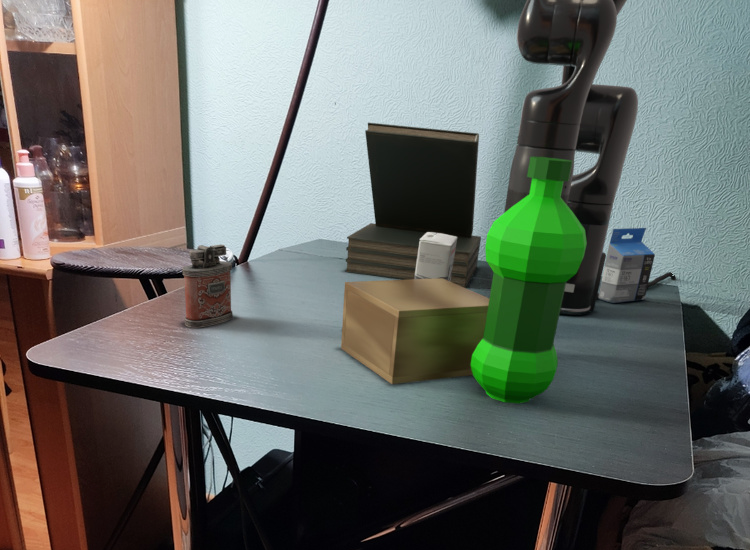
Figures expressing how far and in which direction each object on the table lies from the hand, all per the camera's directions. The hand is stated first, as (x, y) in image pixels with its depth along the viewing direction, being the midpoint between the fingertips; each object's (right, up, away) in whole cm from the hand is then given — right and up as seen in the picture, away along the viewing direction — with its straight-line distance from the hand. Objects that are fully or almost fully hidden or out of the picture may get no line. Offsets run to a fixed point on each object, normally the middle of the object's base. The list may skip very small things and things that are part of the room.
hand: (515, 326), depth 97 cm
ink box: (-11, +4, +14) cm, 18 cm away
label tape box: (+26, +13, +36) cm, 47 cm away
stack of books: (-11, +22, +44) cm, 51 cm away
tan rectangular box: (-14, -6, -5) cm, 16 cm away
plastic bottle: (-3, -11, -13) cm, 18 cm away
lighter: (-42, +1, +3) cm, 42 cm away
